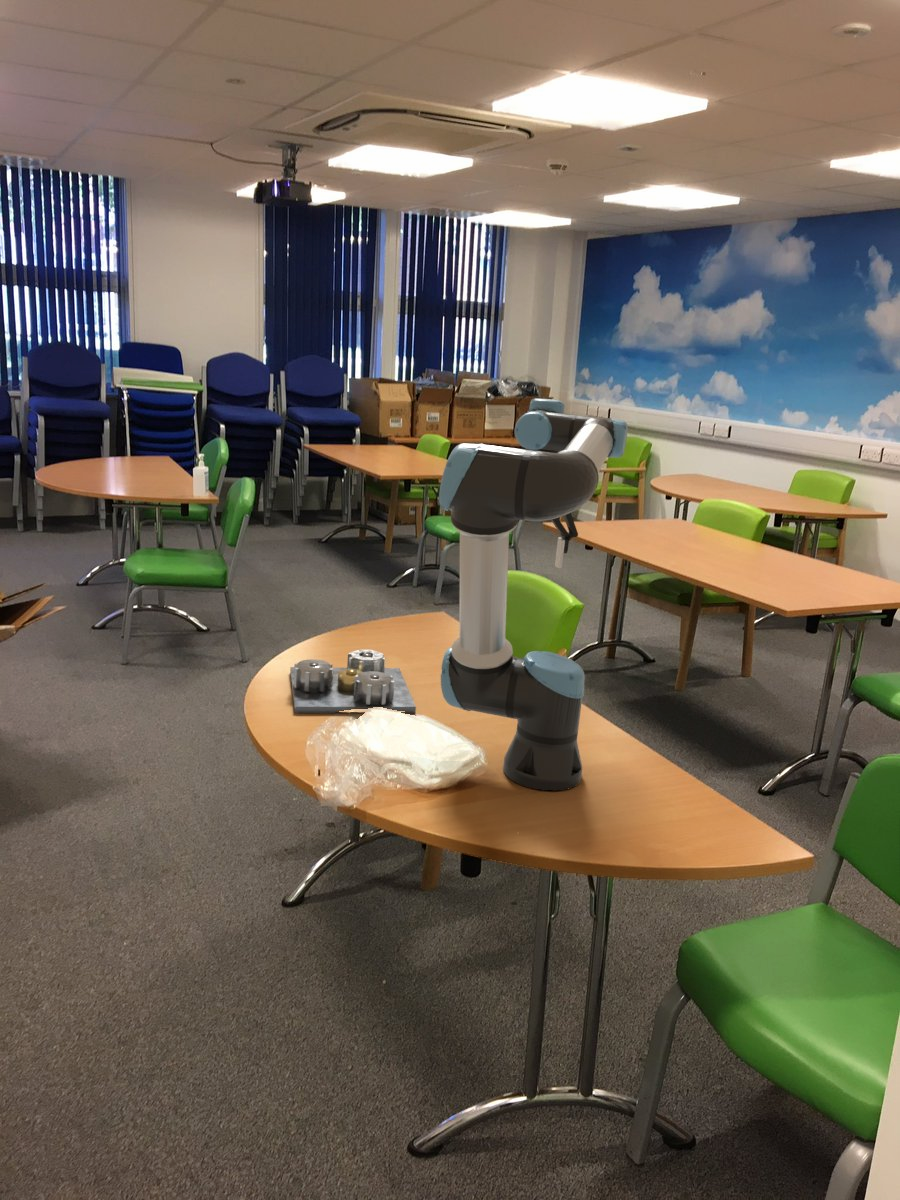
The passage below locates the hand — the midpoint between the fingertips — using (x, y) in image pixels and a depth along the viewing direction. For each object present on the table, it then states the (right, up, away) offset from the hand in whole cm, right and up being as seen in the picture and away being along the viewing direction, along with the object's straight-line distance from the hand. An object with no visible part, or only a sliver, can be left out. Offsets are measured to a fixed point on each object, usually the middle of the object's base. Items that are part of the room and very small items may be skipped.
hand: (529, 566), depth 208 cm
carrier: (-40, -29, +3) cm, 50 cm away
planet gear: (-38, -25, +11) cm, 46 cm away
